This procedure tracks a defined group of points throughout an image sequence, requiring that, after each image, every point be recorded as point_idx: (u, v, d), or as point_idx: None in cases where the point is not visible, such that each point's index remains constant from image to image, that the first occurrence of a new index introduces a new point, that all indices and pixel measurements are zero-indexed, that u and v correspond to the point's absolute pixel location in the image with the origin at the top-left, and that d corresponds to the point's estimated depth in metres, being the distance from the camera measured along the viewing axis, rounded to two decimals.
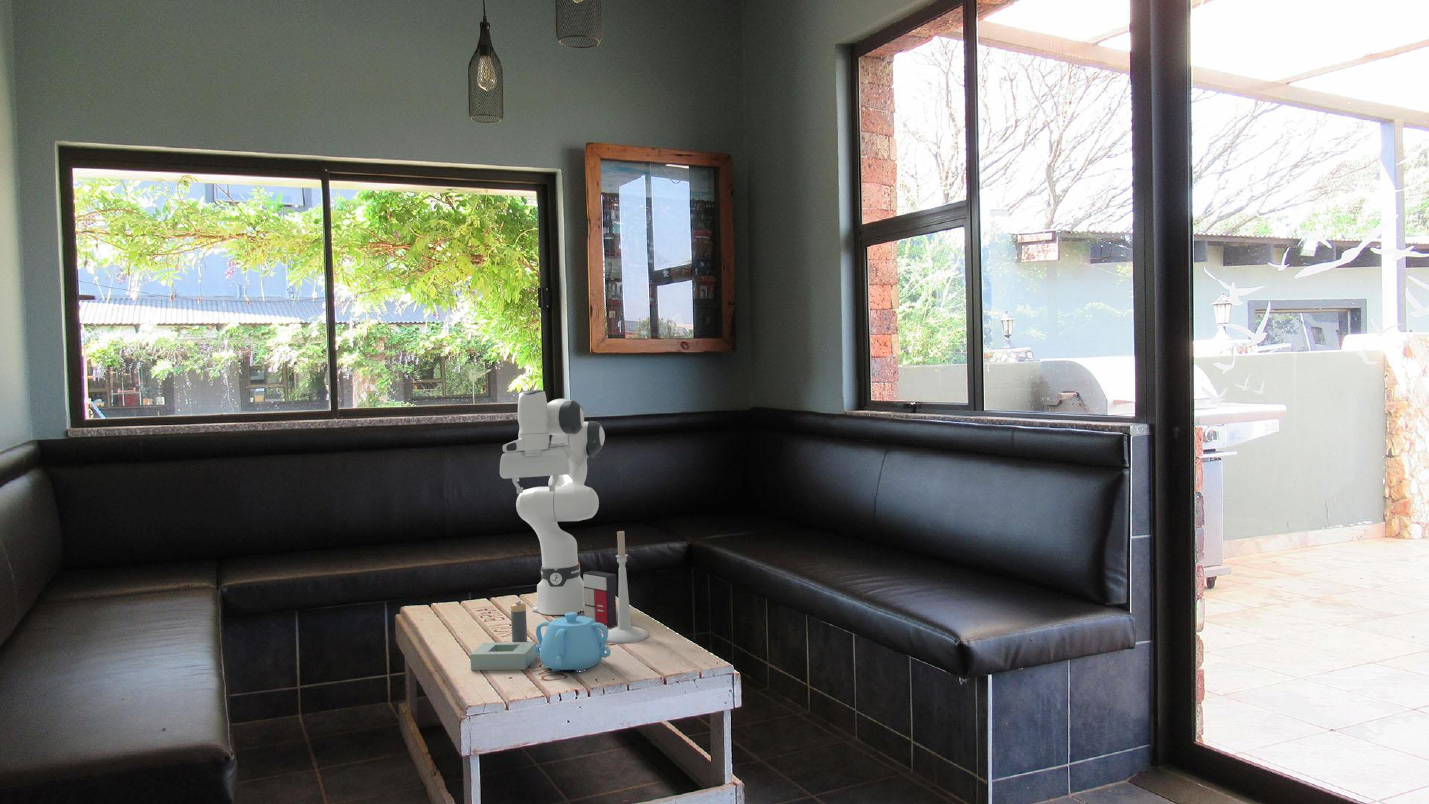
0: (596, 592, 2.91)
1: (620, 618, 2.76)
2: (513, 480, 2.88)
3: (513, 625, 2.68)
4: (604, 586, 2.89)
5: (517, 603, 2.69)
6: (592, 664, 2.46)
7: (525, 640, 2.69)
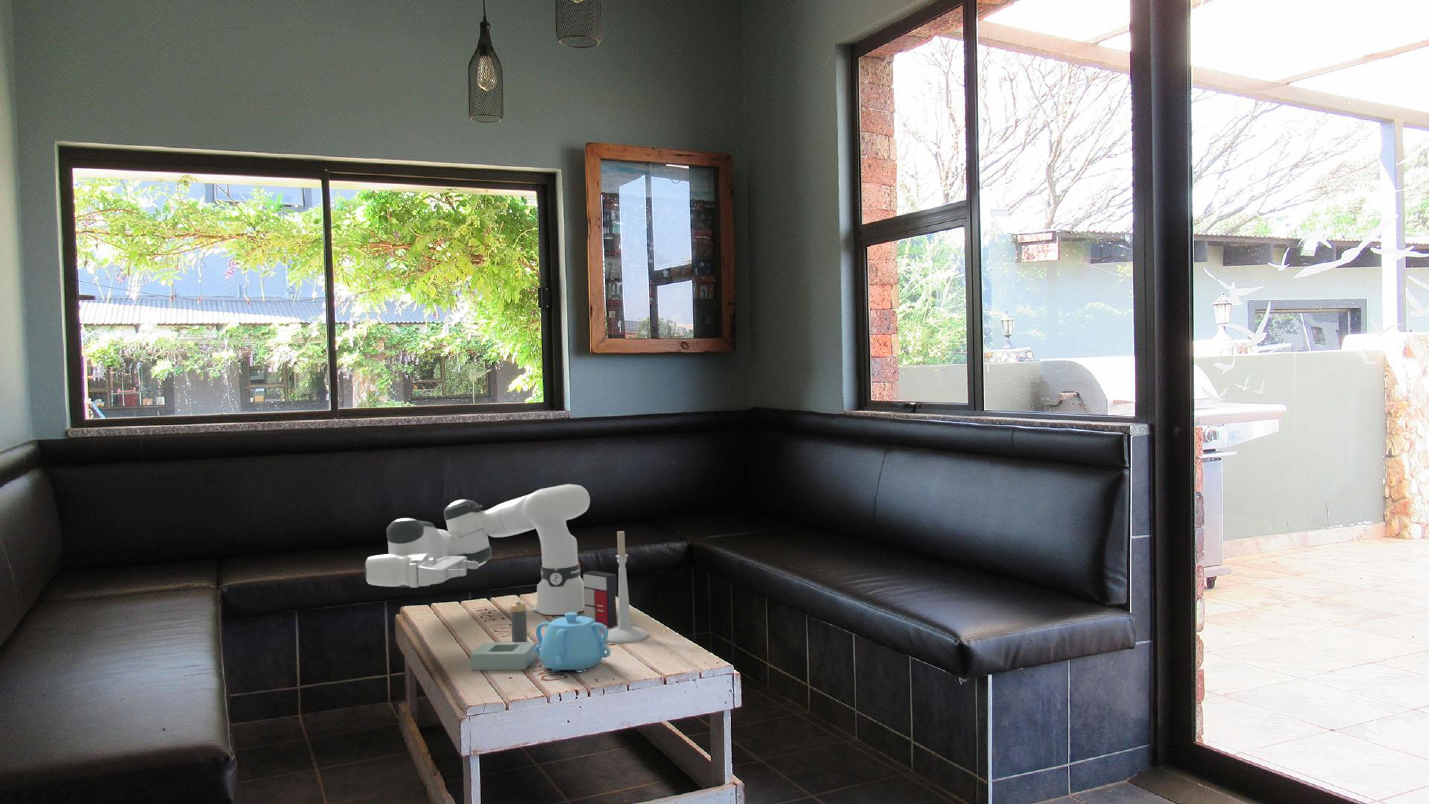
0: (596, 592, 2.91)
1: (620, 618, 2.76)
2: (449, 569, 2.65)
3: (513, 625, 2.68)
4: (604, 586, 2.89)
5: (517, 603, 2.69)
6: (592, 664, 2.46)
7: (525, 640, 2.69)
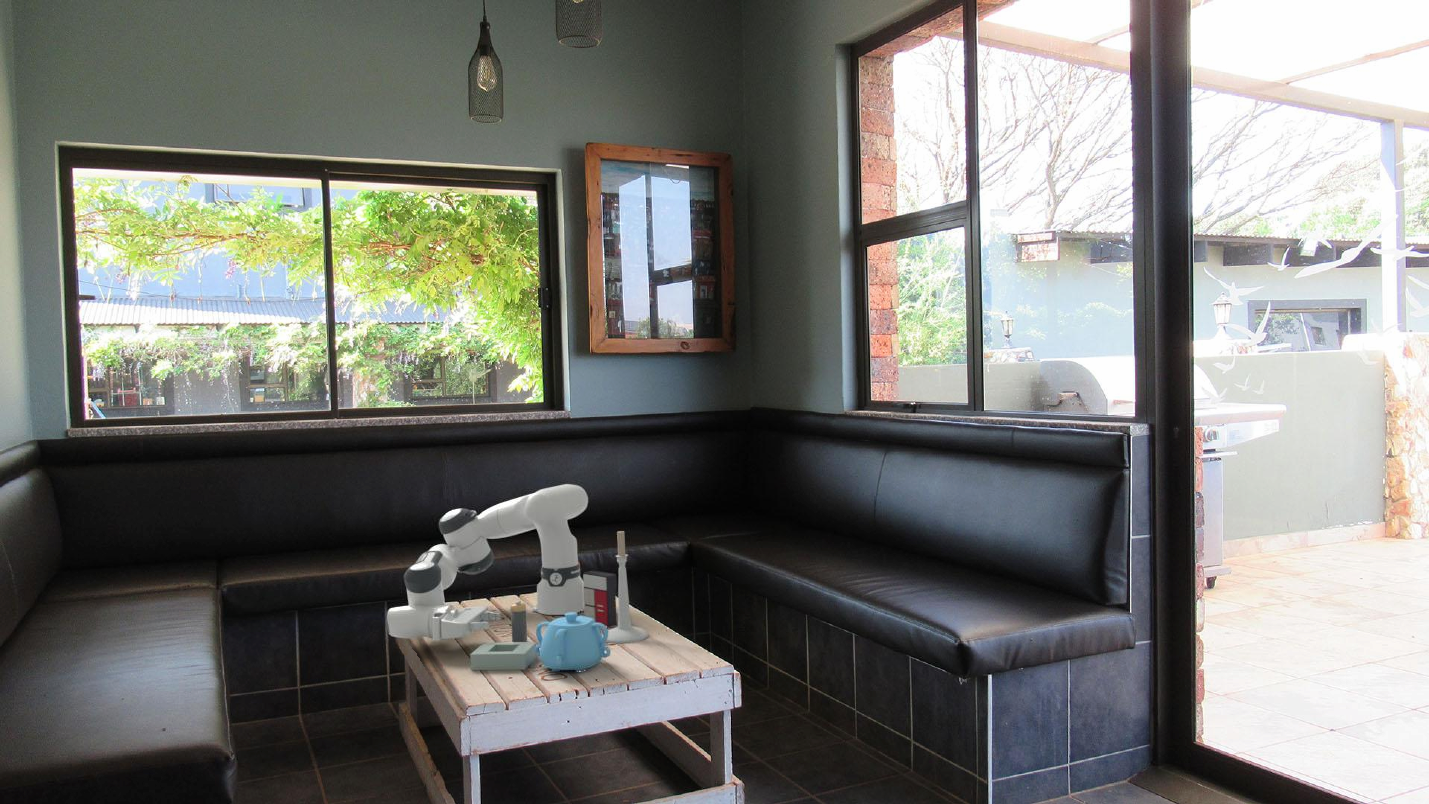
0: (596, 592, 2.91)
1: (620, 618, 2.76)
2: (472, 622, 2.64)
3: (513, 625, 2.68)
4: (604, 586, 2.89)
5: (517, 603, 2.69)
6: (592, 664, 2.46)
7: (525, 640, 2.69)
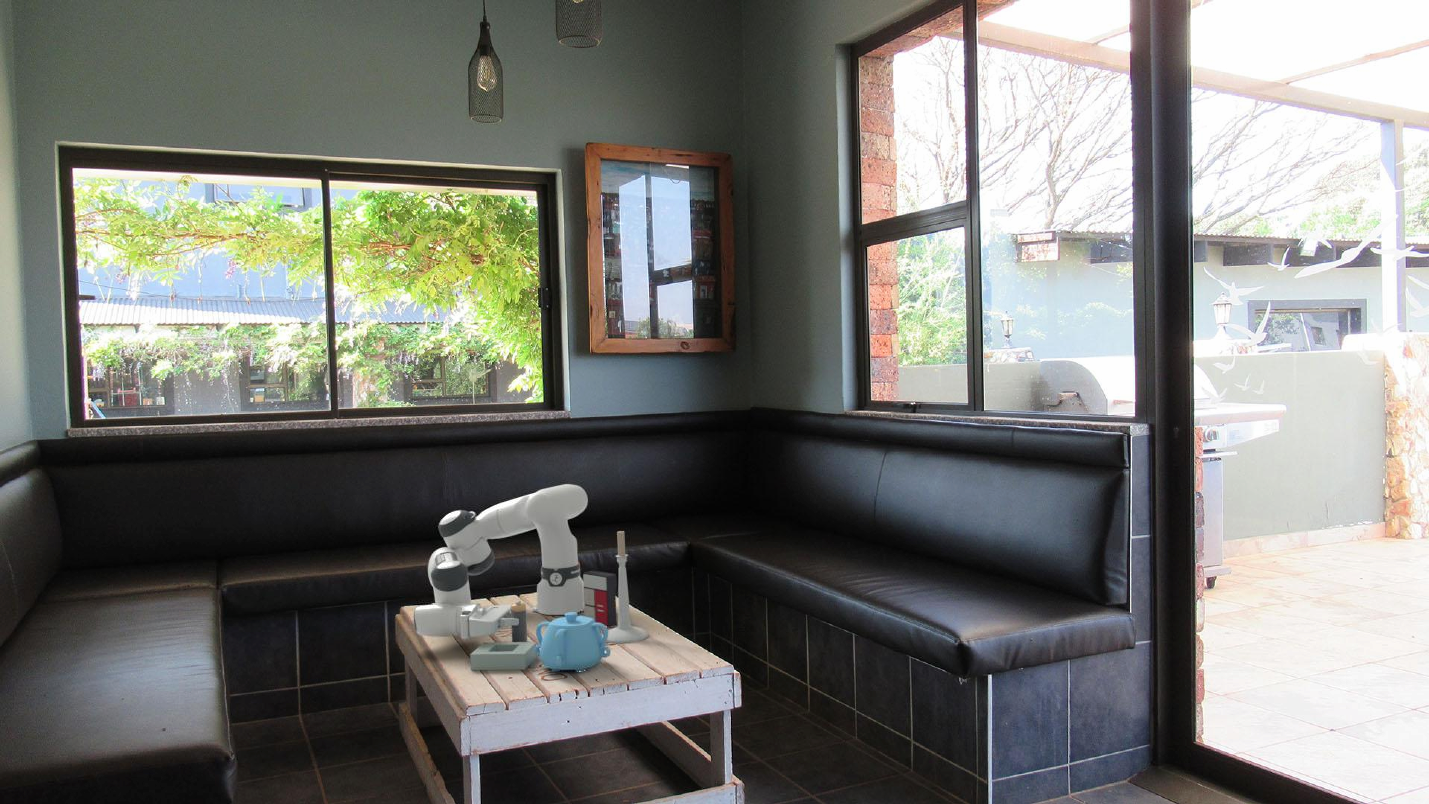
0: (596, 592, 2.91)
1: (620, 618, 2.76)
2: (503, 619, 2.66)
3: (513, 625, 2.68)
4: (604, 586, 2.89)
5: (517, 603, 2.69)
6: (592, 664, 2.46)
7: (525, 640, 2.69)
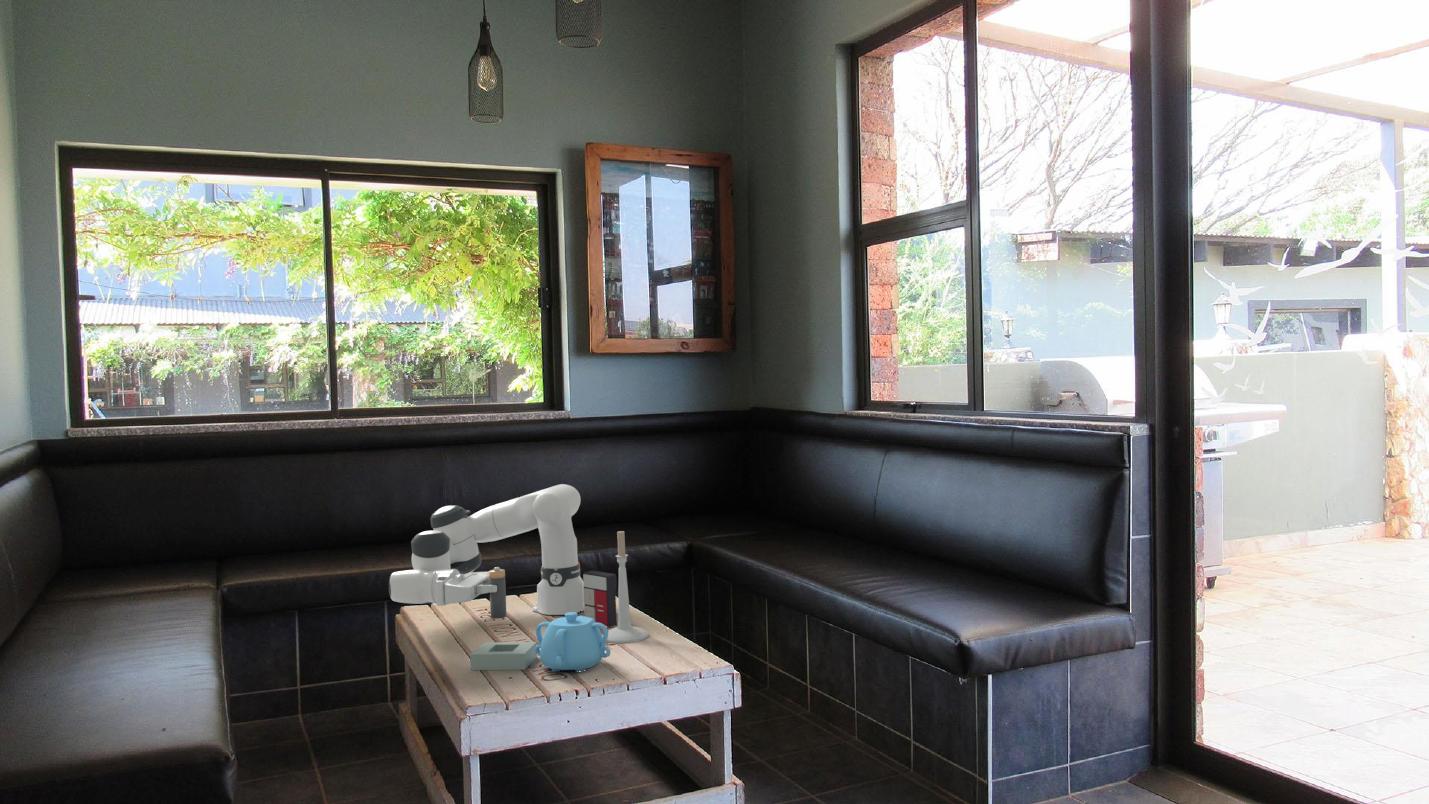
0: (596, 592, 2.91)
1: (620, 618, 2.76)
2: (480, 585, 2.54)
3: (491, 592, 2.57)
4: (604, 586, 2.89)
5: (496, 569, 2.57)
6: (592, 664, 2.46)
7: (504, 608, 2.57)
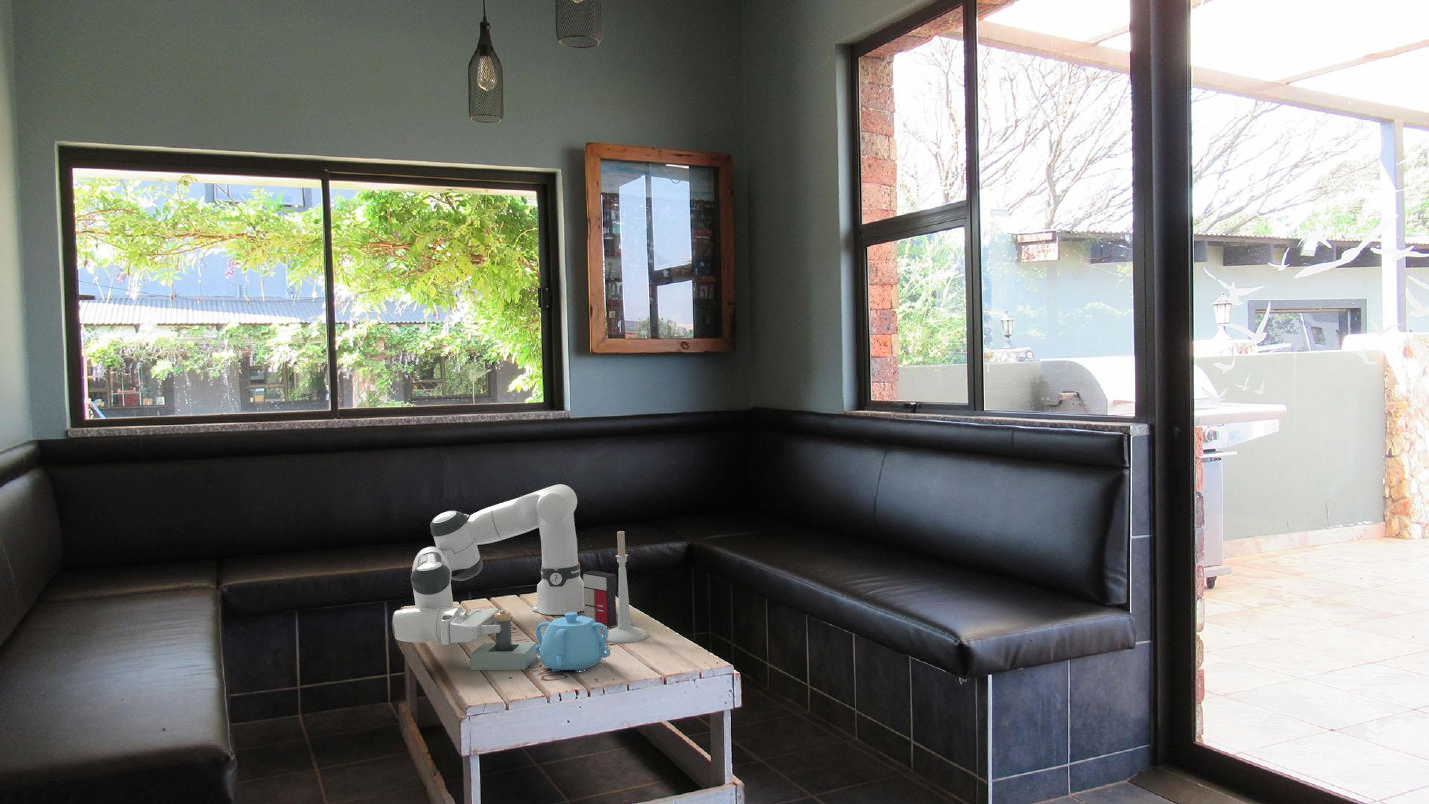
0: (596, 592, 2.91)
1: (620, 618, 2.76)
2: (483, 626, 2.50)
3: (497, 635, 2.55)
4: (604, 586, 2.89)
5: (501, 612, 2.55)
6: (592, 664, 2.46)
7: None
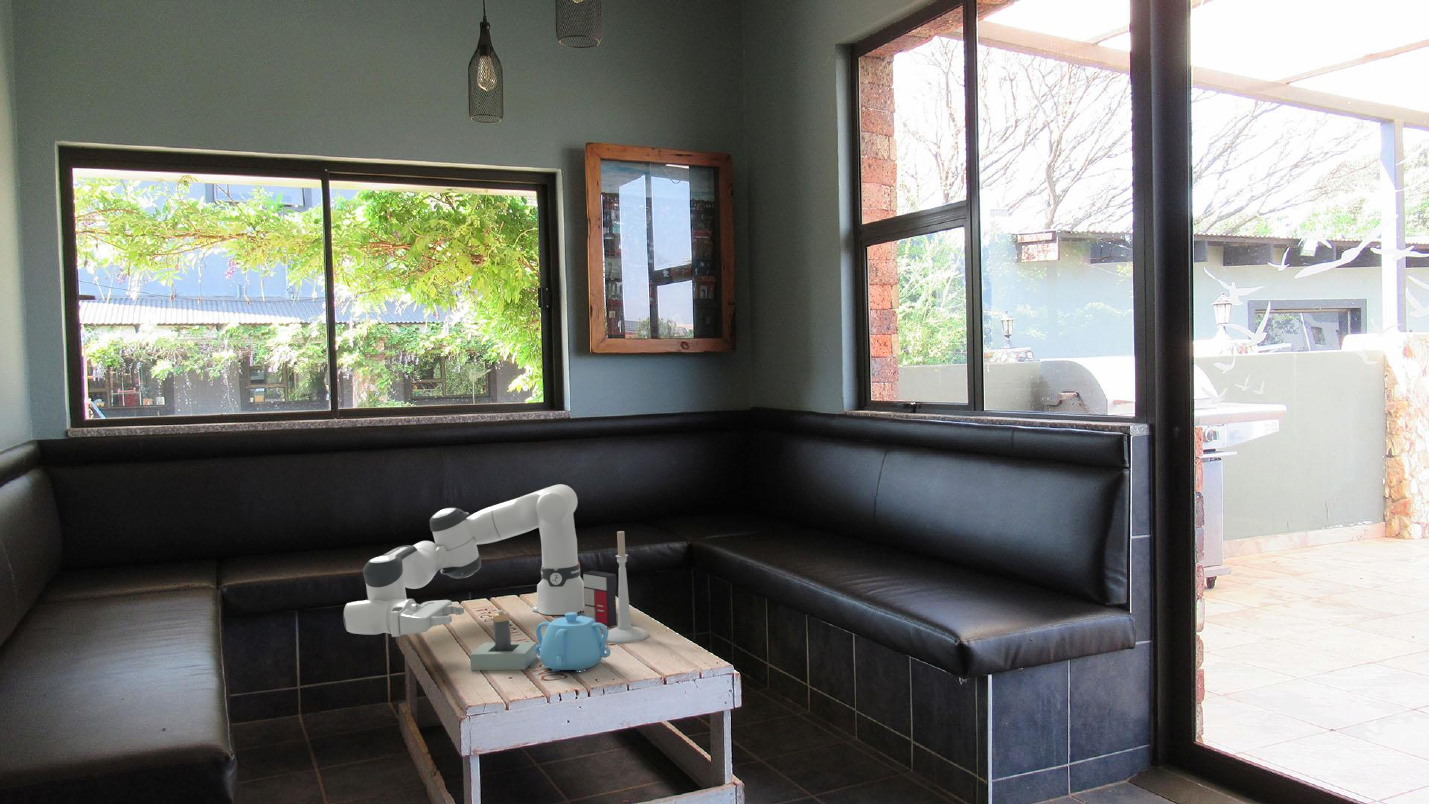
0: (596, 592, 2.91)
1: (620, 618, 2.76)
2: (433, 617, 2.51)
3: (496, 636, 2.54)
4: (604, 586, 2.89)
5: (499, 613, 2.55)
6: (592, 664, 2.46)
7: None
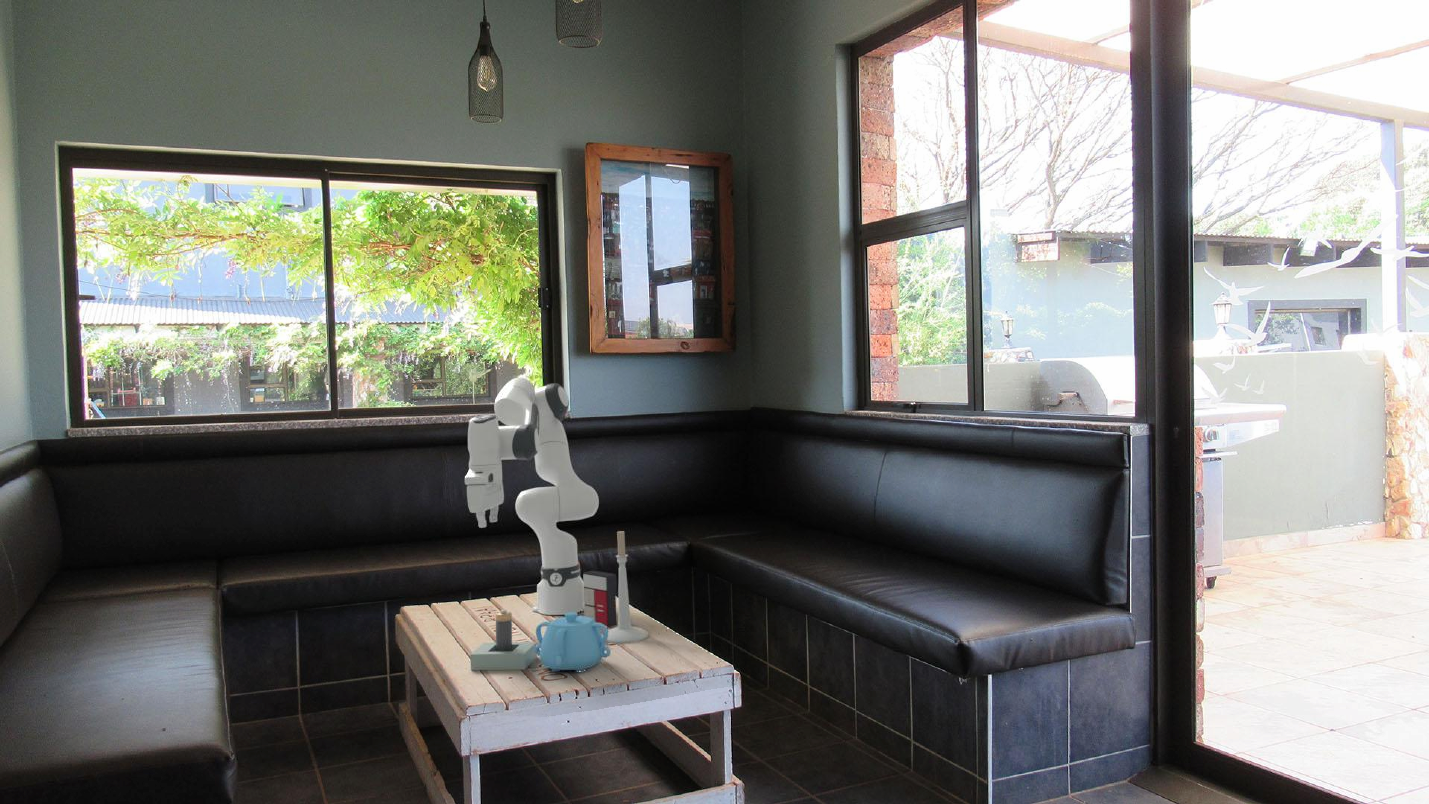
0: (596, 592, 2.91)
1: (620, 618, 2.76)
2: (483, 513, 2.69)
3: (497, 635, 2.55)
4: (604, 586, 2.89)
5: (502, 612, 2.55)
6: (592, 664, 2.46)
7: None
